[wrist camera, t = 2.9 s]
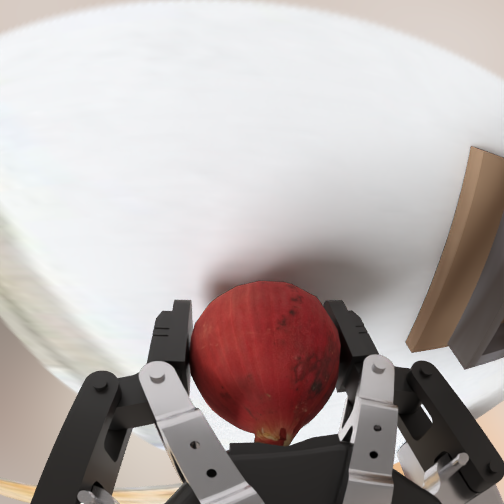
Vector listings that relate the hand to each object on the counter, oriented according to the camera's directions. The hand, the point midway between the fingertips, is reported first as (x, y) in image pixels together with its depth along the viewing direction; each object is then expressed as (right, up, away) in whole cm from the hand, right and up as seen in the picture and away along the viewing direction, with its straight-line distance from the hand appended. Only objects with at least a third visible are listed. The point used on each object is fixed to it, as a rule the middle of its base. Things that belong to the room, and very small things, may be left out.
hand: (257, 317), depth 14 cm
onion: (0, +1, +1) cm, 2 cm away
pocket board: (+19, +2, +2) cm, 19 cm away
